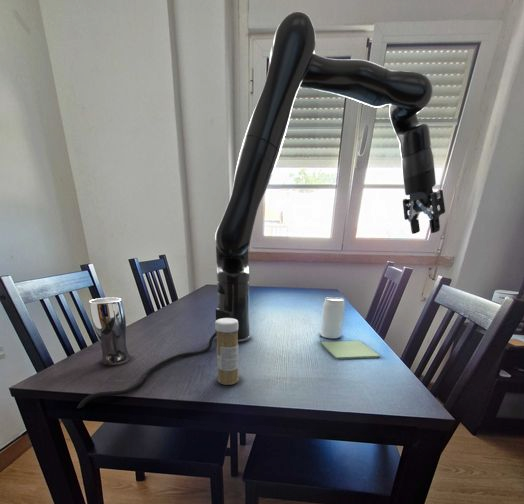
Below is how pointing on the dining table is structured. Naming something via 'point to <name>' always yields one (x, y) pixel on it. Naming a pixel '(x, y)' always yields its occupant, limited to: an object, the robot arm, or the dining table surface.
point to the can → (332, 317)
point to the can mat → (349, 350)
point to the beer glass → (110, 329)
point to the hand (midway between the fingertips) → (425, 232)
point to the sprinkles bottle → (227, 350)
